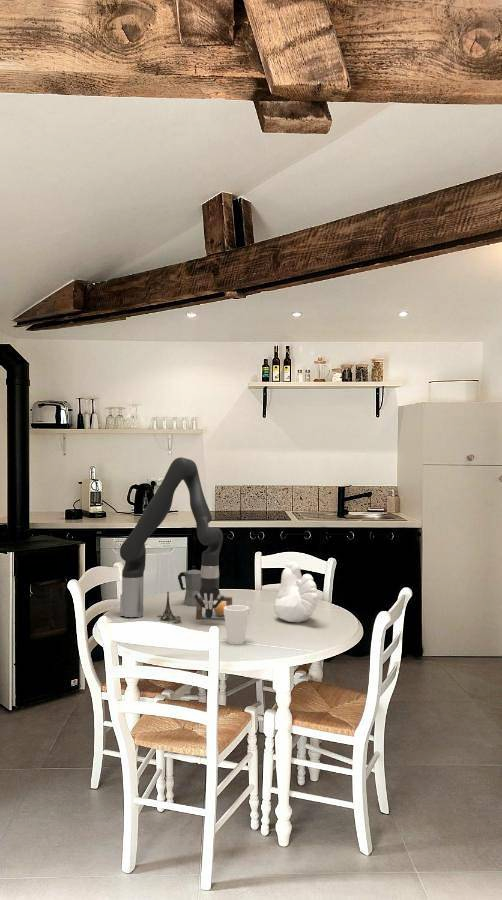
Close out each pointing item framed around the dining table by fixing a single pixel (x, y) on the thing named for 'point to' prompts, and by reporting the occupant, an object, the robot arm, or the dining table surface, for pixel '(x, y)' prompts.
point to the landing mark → (215, 616)
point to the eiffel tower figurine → (169, 614)
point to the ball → (220, 609)
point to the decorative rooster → (295, 595)
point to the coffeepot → (191, 585)
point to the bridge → (227, 599)
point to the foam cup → (236, 623)
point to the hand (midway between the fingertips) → (209, 617)
